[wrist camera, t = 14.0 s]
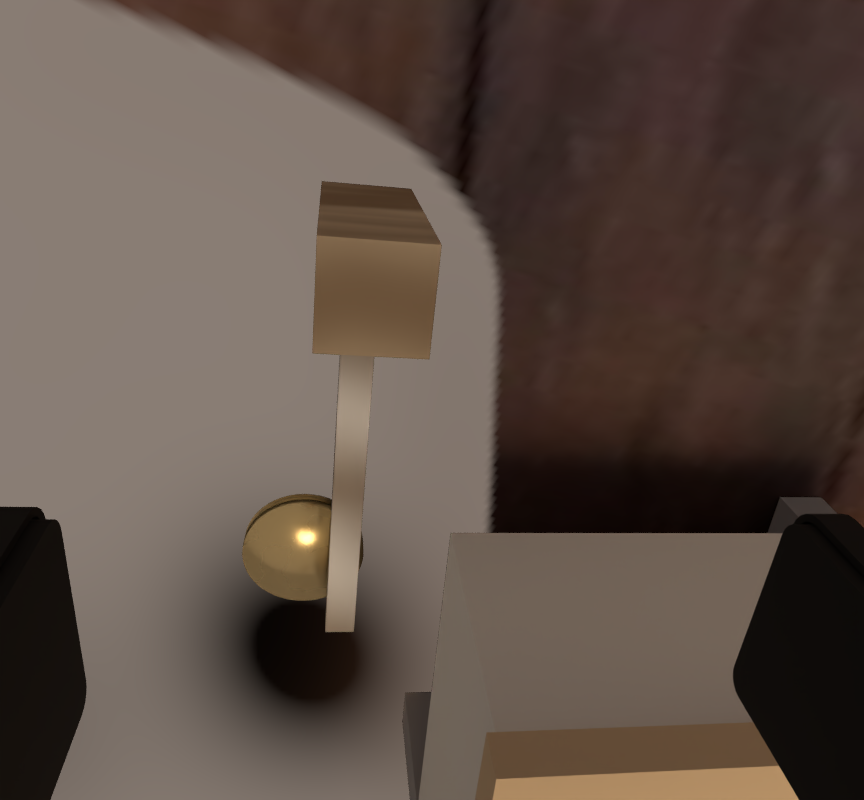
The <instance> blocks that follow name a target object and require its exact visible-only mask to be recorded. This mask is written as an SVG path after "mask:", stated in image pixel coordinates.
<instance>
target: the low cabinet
mask: <svg viewBox="0 0 864 800" xmlns="http://www.w3.org/2000/svg"><path fill="white" fill-rule="evenodd" d="M803 514H837V513H836V512H835V511H834V510H833V509H832V508H831V507H830V506H829V505H828V504H827V503H826V502H825V501H824V500H823V499H822V498H821V497H780V499H779V501H778V504H777V507H776V510H775V513H774V516H773V518H772V521H771V524H770V527H769V530H768V533H451V534H450V543H449V551H448V559H447V567H446V576H445V584H444V592H443V601H442V609H441V617H440V626H439V634H438V642H437V651H436V659H435V667H434V675H433V684H432V692H416V693H415V692H413V693H405V701H404V711H403V721H402V722H403V733H404V742H405V754H406V764H407V774H408V785H409V796H410V800H799V799H798V797H797V796H796V794H795V792H794V790H793V789H792V787H791V785H790V784H789V782H788V780H787V779H786V777H785V775H784V774H783V772H782V770H781V768H780V767H779V765H778V763H777V762H776V760H775V758H774V757H773V755H772V753H771V752H770V750H769V748H768V746H767V745H766V743H765V741H764V740H763V738H762V736H761V735H760V733H759V731H758V730H757V728H756V726H755V724H754V723H753V721H752V719H751V718H750V716H749V714H748V713H747V711H746V709H745V708H744V706H743V704H742V702H741V701H740V699H739V697H738V695H737V693H736V691H735V687H734V683H733V669H734V665H735V662H736V659H737V657H738V654H739V651H740V649H741V646H742V643H743V640H744V638H745V635H746V632H747V629H748V627H749V624H750V621H751V618H752V616H753V613H754V610H755V607H756V605H757V602H758V599H759V597H760V594H761V591H762V588H763V586H764V583H765V580H766V577H767V575H768V572H769V569H770V566H771V564H772V561H773V558H774V555H775V553H776V550H777V547H778V545H779V542H780V539H781V536H782V534H783V532H784V530H785V528H786V527H788V526H789V525H792V524H794V522H795V520H796V519H797V518H798V517H799V516H800V515H803Z"/></svg>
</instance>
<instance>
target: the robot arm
mask: <svg viewBox="0 0 864 800" xmlns="http://www.w3.org/2000/svg"><path fill="white" fill-rule="evenodd" d="M733 683H734V687H735V691H736V693H737V695H738V697H739V699H740V701H741V702H742V704H743V706H744V708H745V709H746V711H747V713H748V714H749V716H750V718H751V719H752V721H753V723H754V724H755V726H756V728H757V730H758V731H759V733H760V735H761V736H762V738H763V740H764V741H765V743H766V745H767V746H768V748H769V750H770V752H771V753H772V755H773V757H774V758H775V760H776V762H777V763H778V765H779V767H780V768H781V770H782V772H783V774H784V775H785V777H786V779H787V780H788V782H789V784H790V785H791V787H792V789H793V790H794V792H795V794H796V796H797V797H798V799H799V800H864V528H863V527H862V526H861V525H860V524H859V523H858V522H857V521H856V520H855V519H853V518H852V517H850V516H849V515H845V514H803V515H800V516H799V517H798V518H797V519H796V520H795V522H794V524H792V525H789V526H788V527H786V528H785V530H784V532H783V534H782V536H781V539H780V542H779V545H778V547H777V550H776V553H775V555H774V558H773V561H772V564H771V566H770V569H769V572H768V575H767V577H766V580H765V583H764V586H763V588H762V591H761V594H760V597H759V599H758V602H757V605H756V607H755V610H754V613H753V616H752V618H751V621H750V624H749V627H748V629H747V632H746V635H745V638H744V640H743V643H742V646H741V649H740V651H739V654H738V657H737V659H736V662H735V665H734V669H733ZM85 698H86V678H85V672H84V665H83V659H82V653H81V647H80V641H79V635H78V629H77V623H76V617H75V611H74V605H73V598H72V593H71V586H70V580H69V574H68V568H67V562H66V556H65V549H64V543H63V538H62V532H61V527H60V524H59V522H58V521H57V520H47V519H45V516H44V513H43V512H42V511H41V509H40V508H38V507H0V800H50V799H51V796H52V794H53V791H54V788H55V786H56V783H57V780H58V778H59V775H60V772H61V770H62V767H63V764H64V762H65V759H66V756H67V753H68V751H69V748H70V745H71V743H72V740H73V737H74V735H75V732H76V729H77V727H78V724H79V721H80V718H81V716H82V712H83V709H84V705H85Z"/></svg>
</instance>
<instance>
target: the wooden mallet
mask: <svg viewBox="0 0 864 800" xmlns="http://www.w3.org/2000/svg"><path fill="white" fill-rule="evenodd" d="M319 208H320V209H319V218H318V228H317V245H316V272H315V298H314V325H313V353H315V354H334V355H340V361H339V379H338V398H337V417H336V434H335V435H336V436H335V453H334V472H333V491H332V509H331V527H330V546H329V565H328V583H327V602H326V632H354V621H355V607H356V594H357V580H358V568H359V554H360V541H361V528H362V514H363V500H364V487H365V474H366V461H367V447H368V433H369V419H370V407H371V393H372V380H373V366H374V357H394V358H412V359H413V358H414V359H429V357H430V349H431V339H432V330H433V320H434V311H435V302H436V292H437V283H438V274H439V265H440V256H441V246H442V245H441V243H440V241H439V239H438V237H437V235H436V234H435V232H434V230H433V228H432V226H431V225H430V223H429V221H428V219H427V217H426V215H425V213H424V212H423V210H422V208H421V206H420V204H419V203H418V201H417V199H416V197H415V195H414V193H413V191H412V190H411V189H406V188H395V187H383V186H371V185H360V184H348V183H336V182H324V181H322V185H321V196H320V207H319Z"/></svg>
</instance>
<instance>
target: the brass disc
mask: <svg viewBox="0 0 864 800" xmlns="http://www.w3.org/2000/svg"><path fill="white" fill-rule="evenodd" d="M331 509H332V499H330V498H327V497H324V496H320V495H314V494H295V495H289V496H285V497H281V498H279V499H276V500H274V501H272V502H270V503H268V504H267V505H266V506H264V507H262V508H261V509H260V510H259V511H258V512H257V513H256V514H255V515H254V517H253V518H252V519H251V521H250V523H249V525H248V527H247V530H246V534H245V538H244V545H243V553H242V555H243V562H244V566H245V568H246V570H247V572H248V574H249V576H250V577H251V578H252V580H253V581H254V582H255V583H256V584H257V585H258V586H260V587H261V588H263V589H264V590H265V591H267V592H269V593H271V594H273V595H275V596H278V597H281V598H285V599H290V600H300V601H303V600H314V599H319V598H323V597H326V596H327V583H328V565H329V546H330V527H331ZM362 560H363V536H362V531H361V541H360V554H359V568H358V571H359V569H360V567H361V564H362Z"/></svg>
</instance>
